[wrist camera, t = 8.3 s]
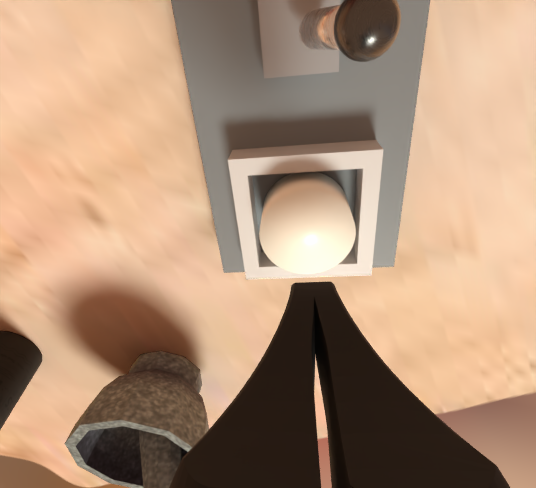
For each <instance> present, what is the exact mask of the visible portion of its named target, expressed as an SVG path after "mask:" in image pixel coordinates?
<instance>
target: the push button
mask: <svg viewBox="0 0 536 488" xmlns="http://www.w3.org/2000/svg"><path fill="white" fill-rule="evenodd" d="M355 236H356V228H355V223H354V219H353V216H352V213H351V210H350V207H349V204H348V201H347V198H346V195H345V193H344V191H343V189H342V188H341V187H340V185H339V184H338V183H337V182H336V181H334V180H333V179H332V178H330V177H328V176H327V175H324V174H322V173H318V172H299V173H292V174H289V175H287V176H285V177H283V178H281V179H280V180H279V181H277V182H276V183H275V184H274V185H273V186H272V187H271V189H270V190H269V192H268V193H267V195H266V198H265V201H264V205H263V211H262V218H261V224H260V232H259V237H260V243H261V246H262V249H263V251H264V253H265V254H266V255H267V257H268V258H269V259H270V260H271V261H272V262H273V263H274V264H275V265H277V266H279V267H280V268H282V269H284V270H286V271H289V272H293V273H297V274H315V273H320V272H323V271H326V270H329V269H331V268H333V267H335V266H336V265H338V264H339V263H340V262H341V261H343V260H344V259H345V257H346V256H347V255H348V254H349V252H350V251H351V249H352V247H353V244H354V241H355Z"/></svg>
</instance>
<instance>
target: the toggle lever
mask: <svg viewBox="0 0 536 488" xmlns="http://www.w3.org/2000/svg"><path fill="white" fill-rule="evenodd" d="M400 23H401V13H400V7H399V4H398V2H397V0H344V1H343V2H342V4H340V5H335V6H330V7H324V8H319V9H314V10H311V11H309V12H308V13H307V14H306V15H305V16H304V17H303V19H302V20H301V23H300V27H299V35H300V39H301V41H302V43H303V44H304V45H305V46H306V47H307V48H309V49H313V50H340V51H341V53H342V54H343V55H344V56H346V57H347V58H349V59H351V60H353V61H357V62H368V61H372V60H374V59H376V58H378V57H380V56H382V55H383V54H384V53H385V52H386V51H387V50H388V49H389V48H390V47H391V46H392V44H393V43H394V41H395V39H396V37H397V35H398V32H399V28H400Z"/></svg>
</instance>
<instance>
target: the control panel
mask: <svg viewBox="0 0 536 488" xmlns="http://www.w3.org/2000/svg"><path fill="white" fill-rule="evenodd" d="M343 1H344V0H171V3H172V8H173V13H174V18H175V23H176V29H177V34H178V39H179V44H180V49H181V54H182V59H183V65H184V70H185V75H186V80H187V85H188V90H189V95H190V101H191V106H192V111H193V116H194V121H195V126H196V131H197V137H198V142H199V147H200V152H201V157H202V162H203V167H204V173H205V178H206V183H207V188H208V193H209V198H210V203H211V209H212V214H213V219H214V224H215V229H216V234H217V239H218V245H219V250H220V255H221V260H222V265H223V270H224V273H228V272H245V276H246V279H273V278H304V277H334V276H365V275H372V267H394V262H395V255H396V248H397V240H398V233H399V226H400V218H401V211H402V204H403V196H404V189H405V182H406V174H407V167H408V160H409V152H410V145H411V137H412V130H413V123H414V115H415V108H416V101H417V93H418V86H419V79H420V71H421V64H422V57H423V49H424V42H425V35H426V27H427V20H428V13H429V5H430V0H397V2H398V4H399V7H400V13H401V23H400V28H399V32H398V35H397V37H396V39H395V41H394V43H393V44H392V46H391V47H390V48H389V49H388V50H387V51H386V52H385V53H384V54H383V55H382V56H380V57H378V58H376V59H374V60H372V61H368V62H357V61H353V60H351V59H349V58H347V57H346V56H344V55H343V54H342V53H341V51H340V50H313V49H309V48H307V47H306V46H305V45H304V44H303V43H302V41H301V39H300V35H299V27H300V23H301V20H302V19H303V17H304V16H305V15H306V14H307V13H308V12H309V11H311V10H314V9H319V8H324V7H330V6H335V5H340V4H342V2H343ZM299 172H318V173H322V174H324V175H327V176H328V177H330V178H332V179H333V180H334V181H336V182H337V183H338V184H339V185H340V187H341V188H342V189H343V191H344V193H345V195H346V198H347V201H348V204H349V207H350V210H351V213H352V216H353V219H354V223H355V228H356V236H355V241H354V244H353V247H352V249H351V251H350V252H349V254H348V255H347V256H346V257H345V259H344V260H343V261H341V262H340V263H339V264H338V265H336V266H335V267H333V268H331V269H329V270H326V271H323V272H320V273H315V274H297V273H293V272H289V271H286V270H284V269H282V268H280V267H279V266H277V265H275V264H274V263H273V262H272V261H271V260H270V259H269V258H268V257H267V255H266V254H265V253H264V251H263V249H262V246H261V243H260V237H259V232H260V224H261V218H262V211H263V205H264V201H265V198H266V195H267V193H268V192H269V190H270V189H271V187H272V186H273V185H274V184H275V183H276V182H277V181H279V180H280V179H281V178H283V177H285V176H287V175H289V174H292V173H299Z"/></svg>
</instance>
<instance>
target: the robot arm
mask: <svg viewBox="0 0 536 488" xmlns="http://www.w3.org/2000/svg"><path fill="white" fill-rule="evenodd" d="M315 354H316V361H317V367H318V373H319V379H320V385H321V391H322V397H323V403H324V409H325V415H326V422H327V430H328V443H329V456H330V468H331V482H332V488H510V487H509V485H508V483H507V481H506V480H505V478H504V477H503V475H502V473H501V472H500V470H499V469H498V467H497V466H496V465H495V464H494V463H493V462H491V461H490V460H489V459H487V458H486V457H485V456H483V455H482V454H481V453H480V452H479V451H477V450H476V449H475V448H473V447H472V446H471V445H470V444H469V443H467V442H466V441H465V440H464V439H463V438H461V437H460V436H459V435H458V434H456V433H455V432H454V431H453V430H452V429H451V428H450V427H448V426H447V425H446V424H445V423H444V422H443V421H442V420H440V419H439V418H438V417H437V416H436V415H435V414H434V413H433V412H432V411H431V410H430V409H429V408H428V407H427V406H425V405H424V404H423V403H422V402H421V401H420V400H419V399H418V398H417V397H416V396H415V395H414V394H413V393H412V392H411V391H410V390H409V389H408V388H407V387H406V386H405V385H404V384H403V383H402V382H401V381H400V380H399V378H398V377H397V376H396V375H395V374H394V373H393V372H392V371H391V370H390V368H389V367H388V366H387V365H386V364H385V363H384V362H383V360H382V359H381V358H380V357H379V355H378V354H377V353H376V352H375V350H374V349H373V348H372V346H371V345H370V344H369V342H368V341H367V340H366V338H365V337H364V336H363V334H362V333H361V331H360V330H359V328H358V327H357V325H356V324H355V322H354V321H353V319H352V318H351V316H350V315H349V313H348V311H347V310H346V308H345V306H344V304H343V302H342V301H341V299H340V297H339V295H338V293H337V290H336V288H335V286H334V284H333V283H332V282H306V283H294V284H293V285H292V286H291V292H290V297H289V300H288V303H287V306H286V309H285V312H284V314H283V317H282V319H281V321H280V324H279V326H278V329H277V331H276V333H275V335H274V337H273V339H272V341H271V343H270V345H269V347H268V349H267V350H266V352H265V354H264V356H263V357H262V359H261V361H260V362H259V364H258V366H257V367H256V369H255V371H254V372H253V374H252V375H251V377H250V378H249V379H248V381H247V382H246V384H245V385H244V387H243V388H242V390H241V391H240V392H239V394H238V395H237V396H236V398H235V399H234V400H233V402H232V403H231V404H230V405H229V406H228V408H227V409H226V410H225V411H224V413H223V414H222V415H221V416H220V418H219V419H218V420H217V421H216V422H215V424H214V425H213V426H212V427H211V428H210V429H209V430H208V431H207V432H206V434H205V435H204V436H203V437H202V438H201V439H200V440H199V441H198V442H197V443H196V444H195V445H194V446H193V447H192V448H191V449H190V451H189V452H188V453H187V454H186V455H185V456H184V457H183V458H182V460H181V462H180V464H179V466H178V468H177V470H176V473H175V475H174V477H173V480H172V482H171V485H170V487H169V488H321V480H320V468H319V455H318V441H317V428H316V414H315V401H314V379H315Z"/></svg>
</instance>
